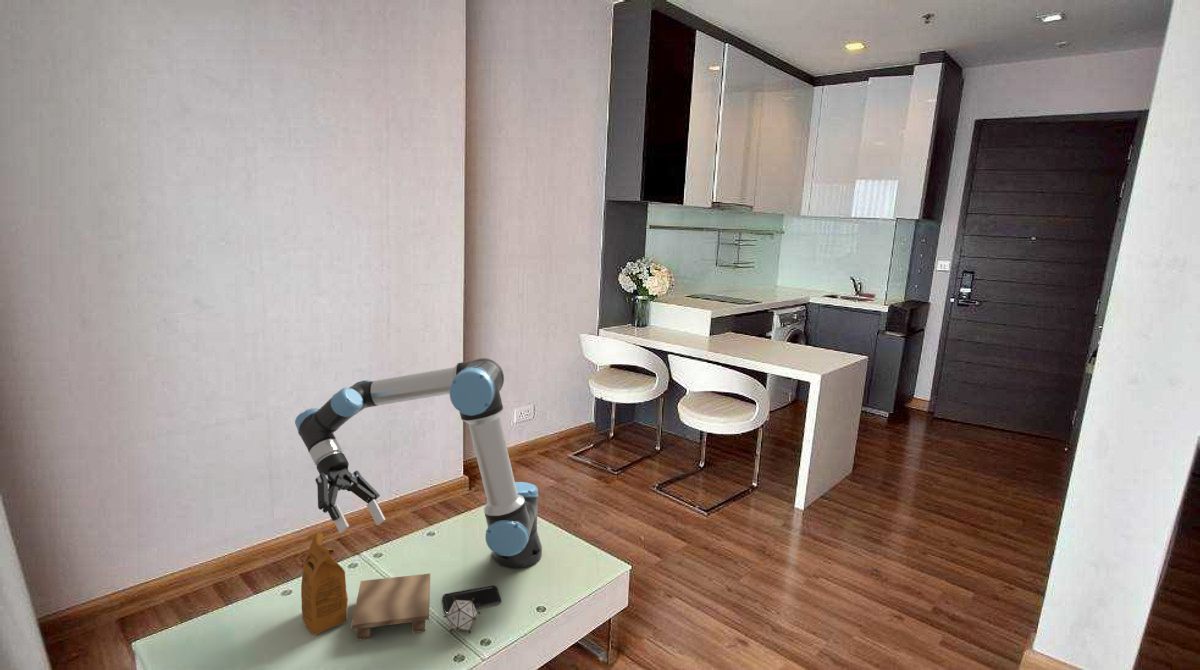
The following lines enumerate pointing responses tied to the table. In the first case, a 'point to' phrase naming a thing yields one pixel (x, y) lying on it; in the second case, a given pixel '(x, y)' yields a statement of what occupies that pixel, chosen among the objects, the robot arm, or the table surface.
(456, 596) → the phone
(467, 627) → the game die
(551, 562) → the table surface
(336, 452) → the robot arm
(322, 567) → the coffee package
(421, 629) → the small wooden platform
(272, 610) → the table surface
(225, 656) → the table surface
